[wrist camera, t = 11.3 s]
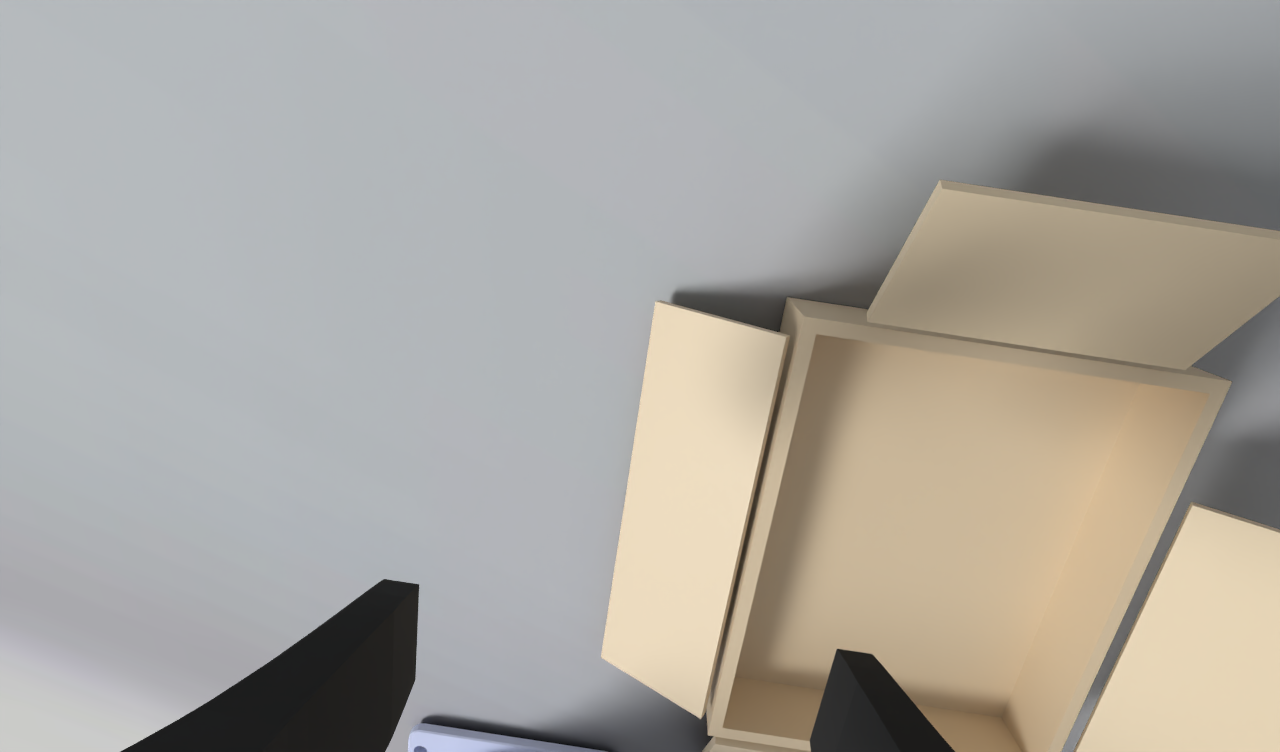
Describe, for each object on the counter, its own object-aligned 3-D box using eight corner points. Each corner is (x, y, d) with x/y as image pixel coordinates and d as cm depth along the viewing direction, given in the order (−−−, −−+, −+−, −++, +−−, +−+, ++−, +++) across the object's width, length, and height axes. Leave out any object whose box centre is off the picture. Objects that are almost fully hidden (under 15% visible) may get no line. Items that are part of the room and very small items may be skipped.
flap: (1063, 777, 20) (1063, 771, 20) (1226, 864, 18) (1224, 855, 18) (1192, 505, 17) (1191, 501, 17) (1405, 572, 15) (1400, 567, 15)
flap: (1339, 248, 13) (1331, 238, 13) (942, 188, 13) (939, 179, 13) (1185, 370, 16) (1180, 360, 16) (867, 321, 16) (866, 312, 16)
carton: (975, 798, 24) (1009, 869, 22) (588, 738, 24) (578, 803, 22) (1161, 353, 19) (1236, 382, 16) (659, 277, 19) (656, 294, 16)
